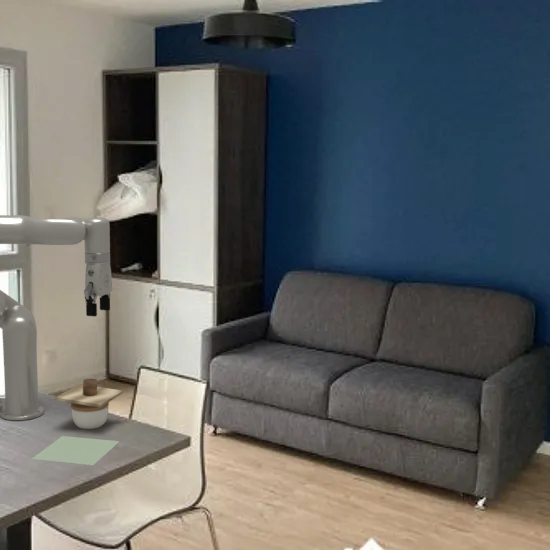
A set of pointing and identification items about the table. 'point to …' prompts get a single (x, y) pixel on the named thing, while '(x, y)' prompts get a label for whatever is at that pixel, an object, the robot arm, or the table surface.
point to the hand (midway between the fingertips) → (98, 312)
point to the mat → (76, 450)
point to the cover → (89, 394)
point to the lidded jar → (89, 415)
